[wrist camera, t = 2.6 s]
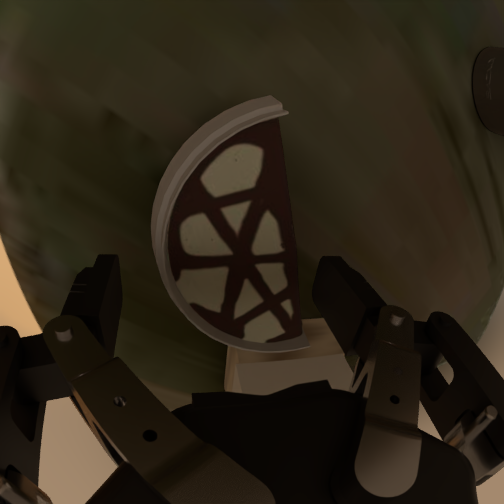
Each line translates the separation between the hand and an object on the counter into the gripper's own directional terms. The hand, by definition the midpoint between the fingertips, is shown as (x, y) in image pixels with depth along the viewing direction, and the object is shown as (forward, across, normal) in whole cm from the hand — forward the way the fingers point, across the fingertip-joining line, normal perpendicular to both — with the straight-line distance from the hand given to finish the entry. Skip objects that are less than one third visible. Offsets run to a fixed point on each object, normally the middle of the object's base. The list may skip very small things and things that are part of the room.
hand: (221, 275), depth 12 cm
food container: (+10, 0, 0) cm, 10 cm away
